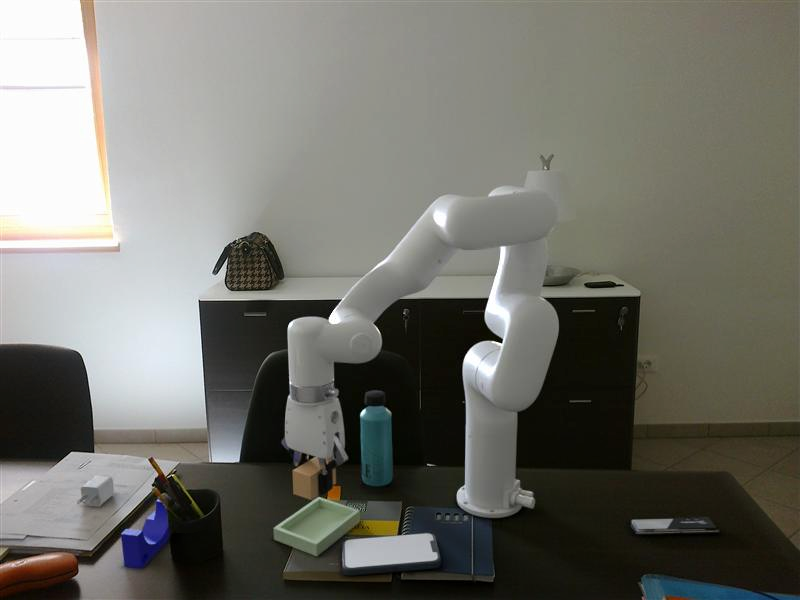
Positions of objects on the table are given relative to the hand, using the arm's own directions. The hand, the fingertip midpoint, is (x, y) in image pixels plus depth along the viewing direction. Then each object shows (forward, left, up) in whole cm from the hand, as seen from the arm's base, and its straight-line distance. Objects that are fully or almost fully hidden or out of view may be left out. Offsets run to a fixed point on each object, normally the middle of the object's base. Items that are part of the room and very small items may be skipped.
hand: (315, 487), depth 119 cm
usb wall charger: (+43, +15, -9) cm, 46 cm away
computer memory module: (-54, -33, -9) cm, 64 cm away
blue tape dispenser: (+22, +19, -9) cm, 30 cm away
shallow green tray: (0, 0, -8) cm, 8 cm away
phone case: (-16, 0, -9) cm, 18 cm away
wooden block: (0, 0, 0) cm, 0 cm away
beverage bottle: (0, -19, -9) cm, 21 cm away
